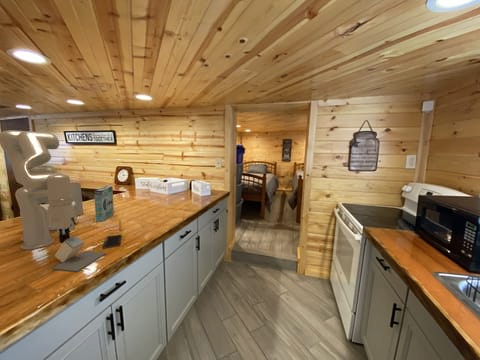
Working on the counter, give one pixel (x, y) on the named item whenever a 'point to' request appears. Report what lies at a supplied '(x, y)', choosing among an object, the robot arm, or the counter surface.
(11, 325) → the counter surface
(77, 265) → the mat
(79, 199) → the tall grey box
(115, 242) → the phone
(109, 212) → the teal rectangular box
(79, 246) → the block
